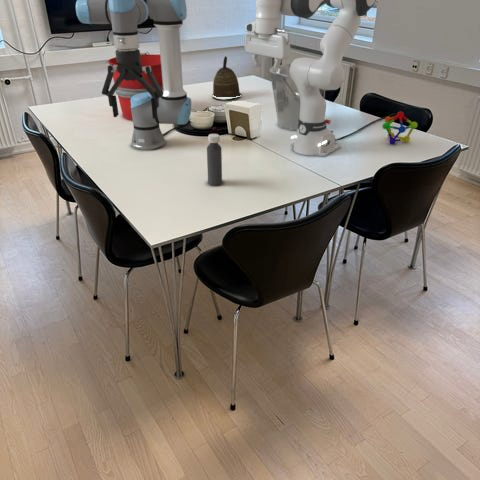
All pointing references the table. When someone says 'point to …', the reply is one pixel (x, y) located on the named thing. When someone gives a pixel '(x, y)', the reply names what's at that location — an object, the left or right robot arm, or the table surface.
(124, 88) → the bucket
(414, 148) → the table surface
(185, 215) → the table surface
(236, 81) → the bell
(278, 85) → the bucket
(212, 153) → the bottle
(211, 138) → the cap
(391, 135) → the educational toy
